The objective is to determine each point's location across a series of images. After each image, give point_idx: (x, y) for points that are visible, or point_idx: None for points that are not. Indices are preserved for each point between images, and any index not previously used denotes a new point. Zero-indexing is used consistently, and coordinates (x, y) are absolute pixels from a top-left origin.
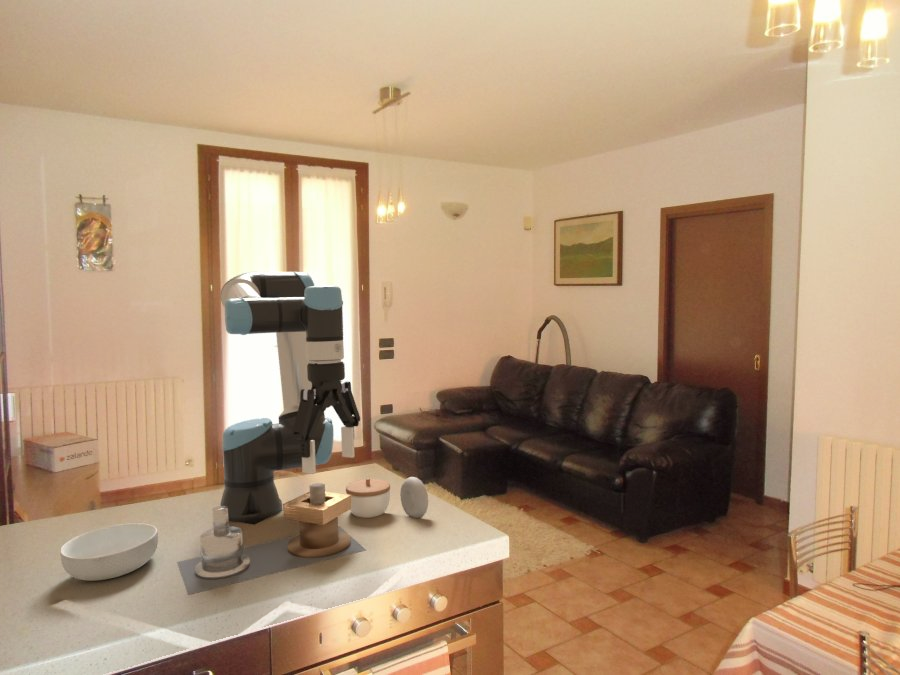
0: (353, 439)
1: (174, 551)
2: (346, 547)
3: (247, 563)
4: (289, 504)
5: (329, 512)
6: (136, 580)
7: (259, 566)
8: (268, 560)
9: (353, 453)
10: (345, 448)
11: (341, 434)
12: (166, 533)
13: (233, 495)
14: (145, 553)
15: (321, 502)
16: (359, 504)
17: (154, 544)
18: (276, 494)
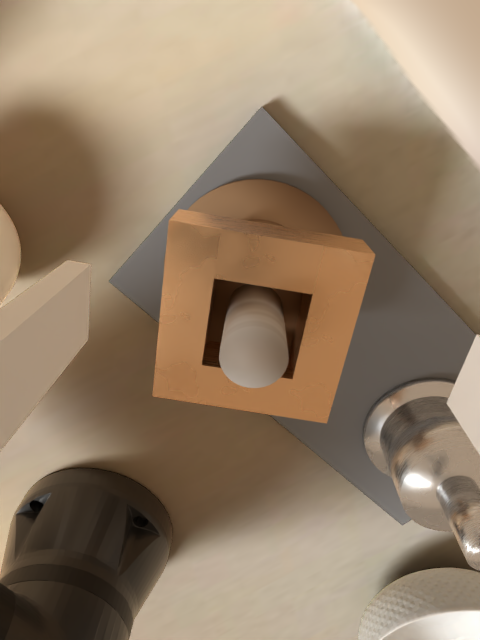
0: (10, 307)
1: (322, 559)
2: (264, 179)
3: (422, 385)
4: (326, 401)
5: (327, 241)
6: (458, 547)
7: (411, 357)
8: (373, 354)
9: (68, 269)
10: (65, 340)
11: (15, 429)
12: (241, 614)
13: (140, 599)
14: (466, 585)
15: (271, 305)
16: (10, 252)
17: (433, 593)
18: (48, 520)
